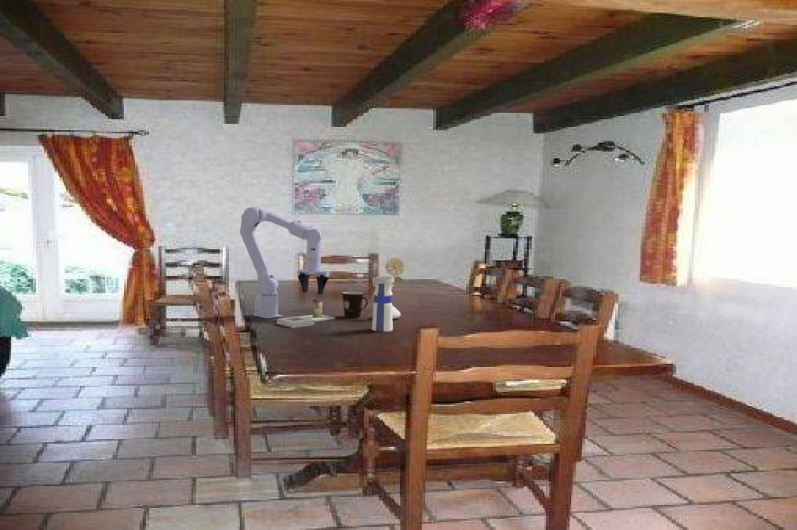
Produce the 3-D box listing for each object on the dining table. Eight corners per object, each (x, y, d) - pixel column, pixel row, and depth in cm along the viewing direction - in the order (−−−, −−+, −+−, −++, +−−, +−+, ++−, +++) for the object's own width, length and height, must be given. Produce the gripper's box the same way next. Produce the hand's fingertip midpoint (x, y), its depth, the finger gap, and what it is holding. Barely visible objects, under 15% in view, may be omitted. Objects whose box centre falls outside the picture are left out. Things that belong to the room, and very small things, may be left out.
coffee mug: (338, 315, 263) (339, 291, 262) (358, 315, 267) (358, 291, 266) (348, 320, 253) (349, 295, 252) (369, 319, 256) (369, 294, 255)
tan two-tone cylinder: (310, 317, 255) (311, 299, 254) (316, 315, 258) (316, 298, 257) (318, 318, 253) (318, 300, 252) (323, 316, 256) (324, 299, 255)
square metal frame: (276, 324, 241) (276, 318, 240) (298, 321, 248) (298, 316, 248) (292, 327, 234) (292, 322, 233) (314, 325, 241) (314, 319, 240)
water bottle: (367, 330, 232) (369, 262, 230) (374, 326, 240) (375, 260, 238) (389, 332, 230) (391, 263, 228) (395, 328, 238) (397, 261, 236)
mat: (299, 318, 255) (299, 316, 255) (319, 315, 263) (319, 314, 262) (315, 321, 248) (315, 319, 248) (335, 318, 255) (335, 317, 255)
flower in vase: (368, 319, 256) (370, 257, 254) (377, 315, 267) (379, 255, 265) (399, 322, 252) (401, 258, 250) (407, 317, 263) (409, 257, 261)
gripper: (292, 258, 255) (292, 292, 256) (322, 261, 248) (321, 296, 249) (303, 257, 261) (303, 291, 262) (332, 260, 254) (332, 294, 255)
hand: (312, 293), depth 256 cm, fingers open, 7 cm apart
